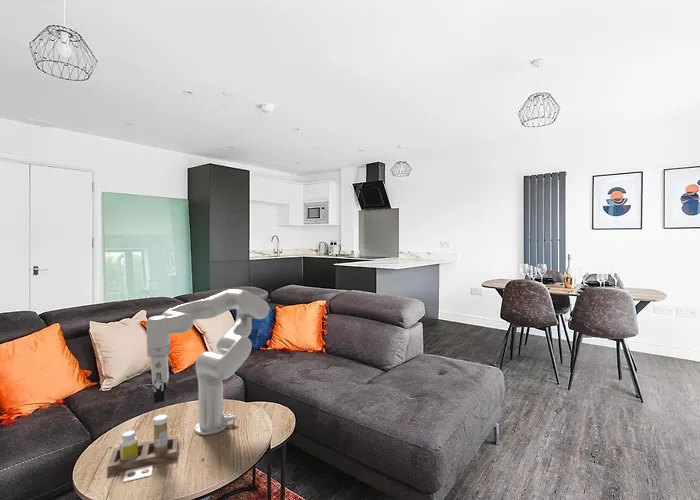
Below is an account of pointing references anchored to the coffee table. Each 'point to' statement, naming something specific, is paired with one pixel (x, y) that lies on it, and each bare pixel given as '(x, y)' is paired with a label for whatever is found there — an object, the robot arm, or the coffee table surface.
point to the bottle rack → (143, 456)
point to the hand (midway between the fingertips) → (160, 396)
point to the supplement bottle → (128, 446)
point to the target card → (138, 473)
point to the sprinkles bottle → (160, 433)
